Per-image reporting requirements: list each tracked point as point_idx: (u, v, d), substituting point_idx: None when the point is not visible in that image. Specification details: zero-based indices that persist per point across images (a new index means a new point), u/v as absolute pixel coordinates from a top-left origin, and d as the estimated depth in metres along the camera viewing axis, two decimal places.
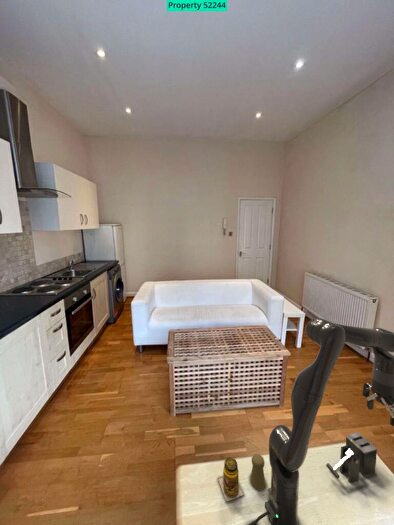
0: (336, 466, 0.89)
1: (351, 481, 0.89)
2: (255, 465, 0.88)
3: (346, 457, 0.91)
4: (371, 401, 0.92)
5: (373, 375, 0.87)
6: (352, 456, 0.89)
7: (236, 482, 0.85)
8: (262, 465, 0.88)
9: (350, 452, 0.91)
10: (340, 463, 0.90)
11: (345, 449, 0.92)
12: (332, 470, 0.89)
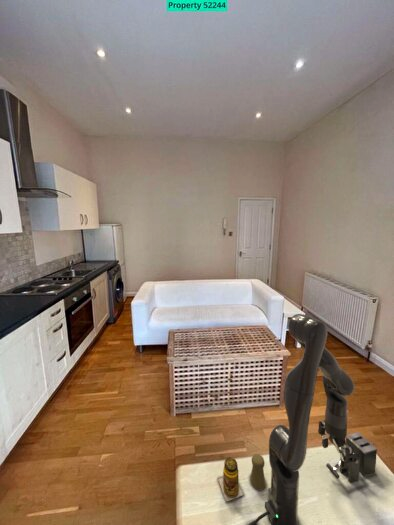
0: (336, 466, 0.89)
1: (351, 481, 0.89)
2: (255, 465, 0.88)
3: None
4: (326, 440, 0.92)
5: (325, 416, 0.88)
6: None
7: (236, 482, 0.85)
8: (262, 465, 0.88)
9: None
10: None
11: None
12: (332, 470, 0.89)
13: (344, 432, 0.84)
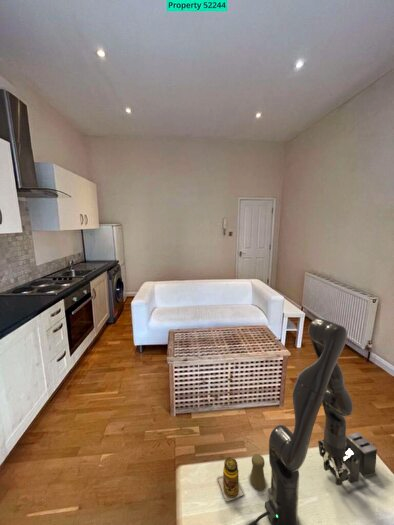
0: None
1: (351, 481, 0.89)
2: (255, 465, 0.88)
3: (346, 457, 0.91)
4: (327, 462, 0.92)
5: (324, 434, 0.89)
6: (352, 456, 0.89)
7: (236, 482, 0.85)
8: (262, 465, 0.88)
9: (350, 452, 0.91)
10: None
11: (345, 449, 0.92)
12: (332, 470, 0.89)
13: (343, 451, 0.85)
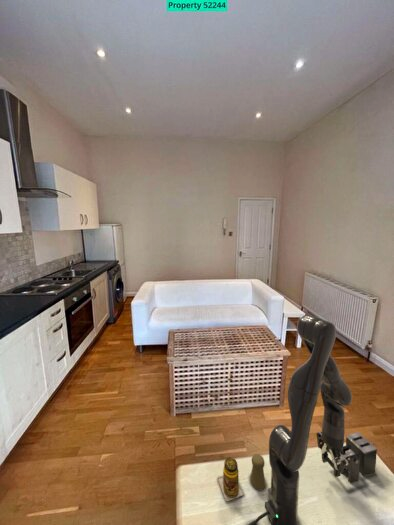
0: None
1: (351, 481, 0.89)
2: (255, 465, 0.88)
3: (346, 455, 0.90)
4: (325, 454, 0.91)
5: (322, 426, 0.88)
6: (352, 456, 0.89)
7: (236, 482, 0.85)
8: (262, 465, 0.88)
9: (351, 452, 0.91)
10: None
11: (345, 449, 0.92)
12: (331, 462, 0.88)
13: (341, 442, 0.84)
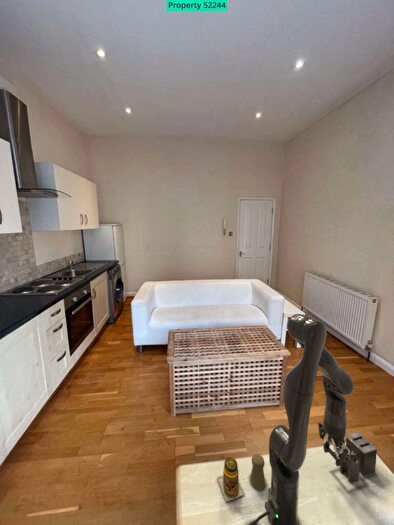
0: None
1: (351, 481, 0.89)
2: (255, 465, 0.88)
3: None
4: (327, 444, 0.91)
5: (324, 415, 0.88)
6: (352, 456, 0.89)
7: (236, 482, 0.85)
8: (262, 465, 0.88)
9: (352, 452, 0.91)
10: None
11: None
12: (333, 452, 0.88)
13: (343, 431, 0.84)
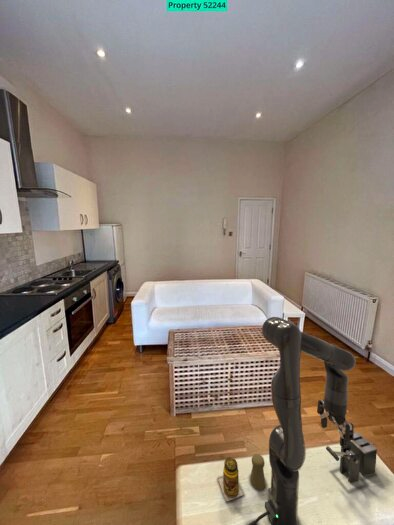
0: (337, 452, 0.89)
1: (351, 481, 0.89)
2: (255, 465, 0.88)
3: (347, 453, 0.90)
4: (325, 419, 0.89)
5: (325, 393, 0.85)
6: (352, 456, 0.89)
7: (236, 482, 0.85)
8: (262, 465, 0.88)
9: (352, 452, 0.91)
10: (341, 453, 0.89)
11: (345, 449, 0.92)
12: (333, 452, 0.88)
13: (344, 409, 0.81)
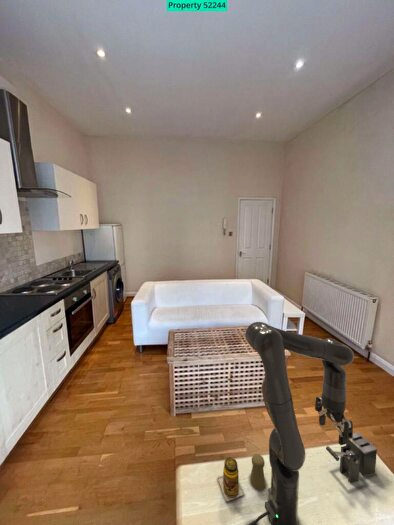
0: (337, 452, 0.89)
1: (351, 481, 0.89)
2: (255, 465, 0.88)
3: (347, 453, 0.90)
4: (323, 416, 0.85)
5: (322, 389, 0.81)
6: (352, 456, 0.89)
7: (236, 482, 0.85)
8: (262, 465, 0.88)
9: (352, 452, 0.91)
10: (341, 453, 0.89)
11: (345, 449, 0.92)
12: (333, 452, 0.88)
13: (343, 405, 0.77)
